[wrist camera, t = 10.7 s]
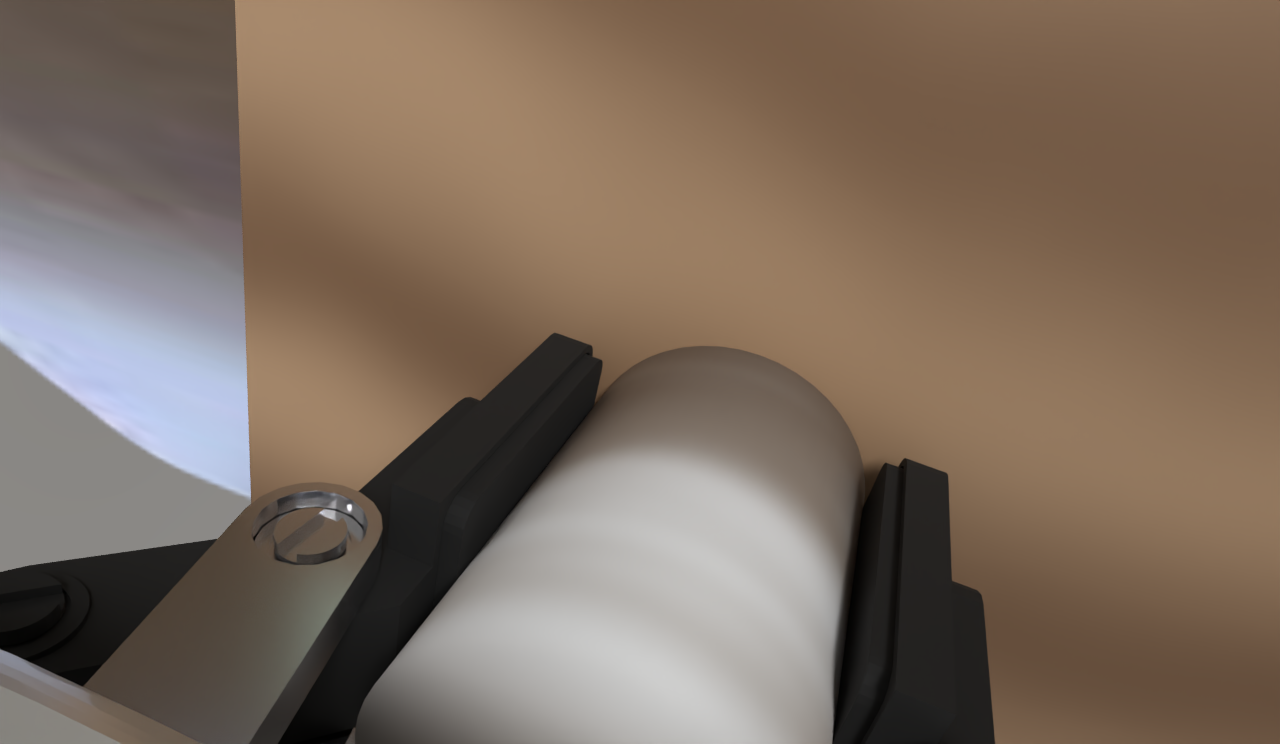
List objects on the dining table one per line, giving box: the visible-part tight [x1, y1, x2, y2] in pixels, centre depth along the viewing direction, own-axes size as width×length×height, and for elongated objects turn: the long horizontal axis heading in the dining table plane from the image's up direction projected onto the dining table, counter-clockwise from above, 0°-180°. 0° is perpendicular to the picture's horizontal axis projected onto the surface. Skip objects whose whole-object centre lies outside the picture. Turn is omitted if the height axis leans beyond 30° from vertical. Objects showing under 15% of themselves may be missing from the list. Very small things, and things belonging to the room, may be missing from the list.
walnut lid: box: [235, 0, 1280, 744], centre depth 9 cm, size 16×16×7 cm
